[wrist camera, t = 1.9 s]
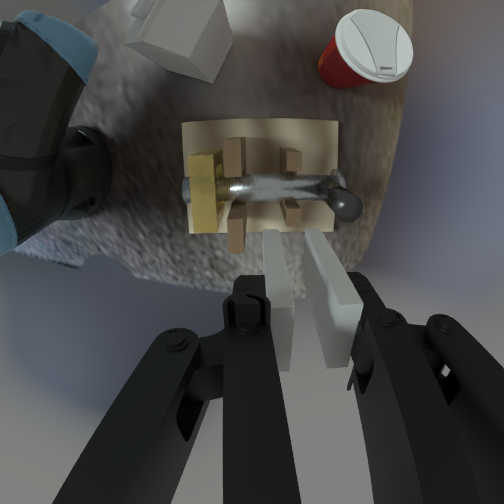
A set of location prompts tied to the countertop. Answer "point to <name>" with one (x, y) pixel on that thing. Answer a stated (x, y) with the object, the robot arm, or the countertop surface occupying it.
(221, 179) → the silver bent bar
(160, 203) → the countertop surface
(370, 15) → the coffee cup
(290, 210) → the wooden stand with blocks
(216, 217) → the spacer
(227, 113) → the countertop surface
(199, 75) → the milk carton
